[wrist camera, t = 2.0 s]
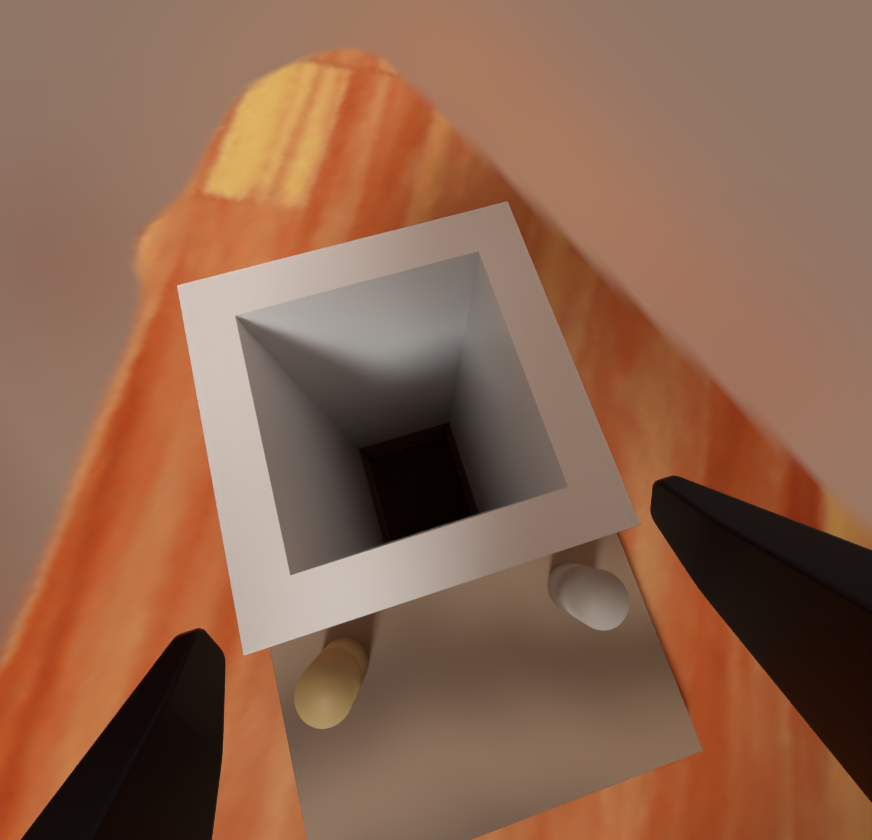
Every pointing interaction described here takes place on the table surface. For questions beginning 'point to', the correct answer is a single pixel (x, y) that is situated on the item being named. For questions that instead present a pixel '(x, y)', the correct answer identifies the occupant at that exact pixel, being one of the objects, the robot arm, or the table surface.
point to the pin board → (481, 702)
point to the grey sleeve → (390, 419)
